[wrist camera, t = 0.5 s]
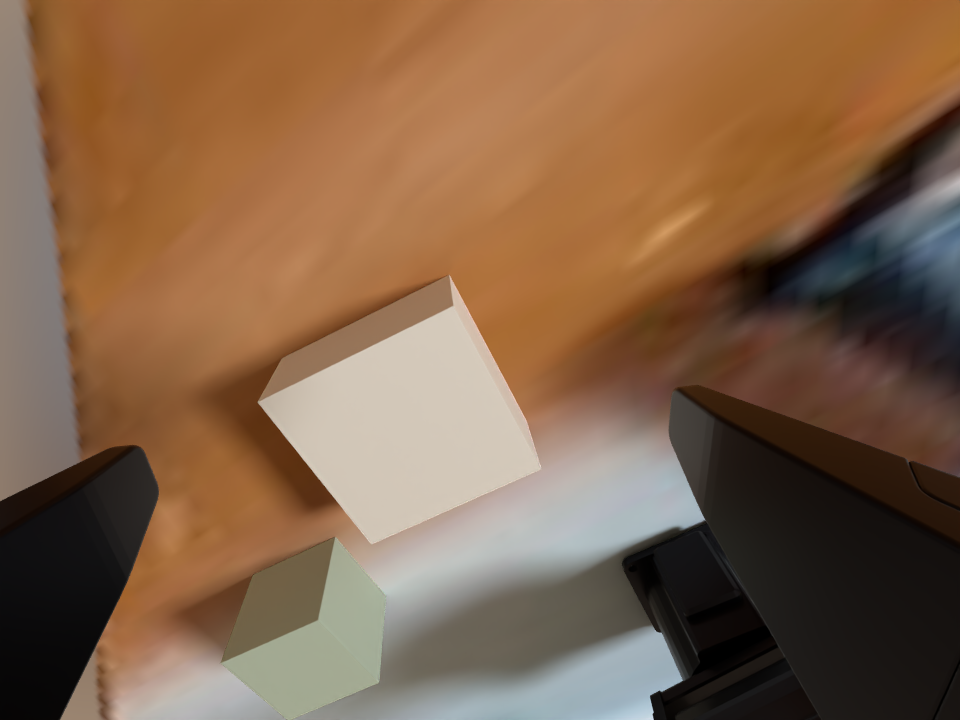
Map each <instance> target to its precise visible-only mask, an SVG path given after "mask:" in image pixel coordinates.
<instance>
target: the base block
mask: <svg viewBox="0 0 960 720" xmlns="http://www.w3.org/2000/svg"><path fill="white" fill-rule="evenodd" d="M258 403H259V405H260V406H261V407H262V408H263V410H264V411H265V412H266V413H267V415H268V416H269V417H270V418H271V420H272V421H273V422H274V423H275V425H276V426H277V427H278V428H279V430H280V431H281V432H282V433H283V435H284V436H285V437H286V438H287V440H288V441H289V442H290V443H291V445H292V446H293V447H294V448H295V450H296V451H297V452H298V453H299V455H300V456H301V457H302V458H303V460H304V461H305V462H306V463H307V465H308V466H309V467H310V468H311V470H312V471H313V472H314V473H315V475H316V476H317V477H318V478H319V480H320V481H321V482H322V483H323V485H324V486H325V487H326V488H327V490H328V491H329V492H330V493H331V495H332V496H333V497H334V498H335V500H336V501H337V502H338V503H339V505H340V506H341V507H342V508H343V510H344V511H345V512H346V513H347V515H348V516H349V517H350V518H351V520H352V521H353V522H354V523H355V525H356V526H357V527H358V528H359V530H360V531H361V532H362V533H363V535H364V536H365V537H366V538H367V540H368V541H369V542H370V543H371V544H374V543H376V542H378V541H380V540H383V539H385V538H387V537H390V536H392V535H394V534H396V533H399V532H401V531H403V530H405V529H408V528H410V527H412V526H414V525H417V524H419V523H421V522H423V521H426V520H428V519H430V518H432V517H435V516H437V515H439V514H441V513H444V512H446V511H448V510H450V509H453V508H455V507H457V506H460V505H462V504H464V503H466V502H469V501H471V500H473V499H475V498H478V497H480V496H482V495H484V494H487V493H489V492H491V491H493V490H496V489H498V488H500V487H502V486H505V485H507V484H509V483H511V482H514V481H516V480H518V479H520V478H523V477H525V476H527V475H529V474H532V473H534V472H536V471H539V470H541V469H542V468H541V465H540V462H539V459H538V456H537V452H536V449H535V446H534V443H533V440H532V437H531V433H530V430H529V427H528V424H527V421H526V419H525V417H524V415H523V413H522V411H521V409H520V408H519V406H518V404H517V402H516V400H515V398H514V396H513V394H512V392H511V391H510V389H509V387H508V385H507V383H506V381H505V379H504V377H503V375H502V374H501V372H500V370H499V368H498V366H497V364H496V362H495V360H494V358H493V357H492V355H491V353H490V351H489V349H488V347H487V345H486V343H485V341H484V340H483V338H482V336H481V334H480V332H479V330H478V328H477V326H476V324H475V323H474V321H473V319H472V317H471V315H470V313H469V311H468V309H467V307H466V306H465V304H464V302H463V300H462V298H461V296H460V294H459V292H458V290H457V289H456V287H455V285H454V283H453V281H452V279H451V277H450V275H448V276H446V277H444V278H442V279H440V280H438V281H436V282H434V283H432V284H430V285H428V286H426V287H424V288H422V289H420V290H418V291H416V292H414V293H412V294H410V295H408V296H406V297H404V298H402V299H400V300H398V301H396V302H394V303H392V304H390V305H388V306H386V307H384V308H382V309H380V310H378V311H376V312H374V313H372V314H370V315H368V316H366V317H364V318H362V319H360V320H357V321H355V322H353V323H351V324H349V325H347V326H345V327H343V328H341V329H339V330H337V331H335V332H333V333H331V334H329V335H327V336H325V337H323V338H321V339H319V340H317V341H315V342H313V343H311V344H309V345H307V346H305V347H303V348H301V349H299V350H297V351H295V352H293V353H291V354H289V355H287V356H285V357H283V358H282V359H281V361H280V363H279V364H278V366H277V368H276V370H275V372H274V373H273V375H272V377H271V379H270V381H269V382H268V384H267V386H266V388H265V390H264V391H263V393H262V395H261V397H260V399H259V400H258Z"/></svg>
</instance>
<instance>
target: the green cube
mask: <svg viewBox="0 0 960 720" xmlns="http://www.w3.org/2000/svg"><path fill="white" fill-rule="evenodd" d="M385 604H386V595H385V594H384V593H383V592H382V590H381V589H380V588H379V587H378V586H377V585H376V583H375V582H374V581H373V580H372V579H371V578H370V576H369V575H368V574H367V573H366V572H365V571H364V569H363V568H362V567H361V566H360V565H359V564H358V562H357V561H356V560H355V559H354V558H353V557H352V555H351V554H350V553H349V552H348V551H347V550H346V548H345V547H344V546H343V545H342V544H341V543H340V542H339V540H338V539H337V538H336V537H334V538H332V539H329V540H327V541H325V542H323V543H321V544H319V545H316V546H314V547H312V548H310V549H308V550H306V551H303V552H301V553H299V554H297V555H295V556H293V557H290V558H288V559H286V560H284V561H282V562H280V563H277V564H275V565H273V566H271V567H269V568H267V569H264V570H262V571H260V572H258V573H256V574H254V575H253V576H252V579H251V581H250V584H249V587H248V590H247V592H246V595H245V598H244V600H243V603H242V606H241V609H240V611H239V614H238V617H237V620H236V622H235V625H234V628H233V631H232V633H231V636H230V639H229V641H228V644H227V647H226V650H225V652H224V655H223V658H222V661H221V664H222V665H223V666H224V667H225V668H227V669H228V670H229V671H230V672H231V673H232V674H234V675H235V676H236V677H237V678H238V679H239V680H241V681H242V682H243V683H244V684H245V685H247V686H248V687H249V688H250V689H251V690H252V691H254V692H255V693H256V694H257V695H258V696H260V697H261V698H262V699H263V700H264V701H265V702H267V703H268V704H269V705H270V706H271V707H272V708H274V709H275V710H276V711H277V712H278V713H280V714H281V715H282V716H283V717H284V718H285V719H287V720H292V719H294V718H296V717H299V716H301V715H304V714H306V713H308V712H311V711H313V710H316V709H318V708H320V707H323V706H325V705H327V704H330V703H332V702H335V701H337V700H339V699H342V698H344V697H347V696H349V695H351V694H354V693H356V692H358V691H361V690H363V689H366V688H368V687H370V686H373V685H375V684H378V683H379V678H380V666H381V654H382V641H383V629H384V617H385Z"/></svg>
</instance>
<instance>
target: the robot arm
mask: <svg viewBox="0 0 960 720" xmlns="http://www.w3.org/2000/svg"><path fill="white" fill-rule="evenodd" d="M669 437H670V441H671V444H672V446H673V448H674V451H675V453H676V455H677V458H678V460H679V462H680V465H681V467H682V469H683V471H684V474H685V476H686V478H687V481H688V483H689V485H690V488H691V490H692V492H693V495H694V497H695V499H696V502H697V504H698V506H699V508H700V510H701V512H702V514H703V516H704V518H705V520H706V522H707V523H708V524H705V525H703V526H701V527H698V528H696V529H694V530H691V531H689V532H686V533H684V534H682V535H679V536H677V537H675V538H672V539H670V540H668V541H665V542H663V543H660V544H658V545H656V546H653V547H651V548H649V549H646V550H644V551H642V552H639V553H637V554H635V555H632V556H630V557H628V558H626V559H624V561H623V562H622V567H623V569H624V572H625V574H626V576H627V577H628V579H629V581H630V583H631V585H632V587H633V589H634V591H635V593H636V594H637V596H638V598H639V600H640V602H641V604H642V606H643V608H644V610H645V611H646V613H647V615H648V617H649V619H650V621H651V623H652V625H653V627H654V628H655V630H656V631H657V632H659V633H662V634H663V636H664V639H665V641H666V643H667V645H668V648H669V650H670V652H671V654H672V657H673V659H674V661H675V664H676V666H677V668H678V670H679V673H680V675H681V677H682V679H683V681H682V682H680V683H678V684H676V685H674V686H672V687H670V688H668V689H666V690H665V691H663V692H661V691H658V692H656V693H654V694H652V695H650V699H651V703H652V707H653V711H654V713H653V718H654V720H960V477H957V476H954V475H951V474H948V473H946V472H943V471H940V470H937V469H934V468H931V467H928V466H926V465H923V464H920V463H917V462H914V461H910V462H908V460H907V459H905V458H903V457H900V456H897V455H894V454H891V453H889V452H886V451H883V450H880V449H877V448H875V447H872V446H869V445H866V444H863V443H860V442H858V441H855V440H852V439H849V438H846V437H844V436H841V435H838V434H835V433H832V432H829V431H827V430H824V429H821V428H818V427H815V426H813V425H810V424H807V423H804V422H801V421H798V420H796V419H793V418H790V417H787V416H784V415H782V414H779V413H776V412H773V411H770V410H767V409H765V408H762V407H759V406H756V405H753V404H750V403H748V402H745V401H742V400H739V399H736V398H734V397H731V396H728V395H725V394H722V393H719V392H717V391H714V390H711V389H708V388H705V387H703V386H699V385H692V386H683V387H677V388H675V389H674V391H673V393H672V397H671V408H670V419H669ZM158 495H159V488H158V484H157V481H156V479H155V476H154V474H153V471H152V469H151V466H150V464H149V462H148V459H147V457H146V454H145V452H144V450H143V449H142V448H141V447H139V446H137V445H127V446H117V447H111V448H109V449H106V450H104V451H102V452H100V453H98V454H96V455H94V456H92V457H90V458H88V459H86V460H84V461H82V462H80V463H78V464H76V465H74V466H72V467H69V468H67V469H65V470H63V471H61V472H59V473H57V474H55V475H53V476H51V477H49V478H47V479H45V480H43V481H41V482H39V483H37V484H35V485H32V486H30V487H28V488H26V489H24V490H22V491H20V492H18V493H16V494H14V495H12V496H10V497H8V498H6V499H4V500H2V501H0V720H60V719H61V717H62V715H63V713H64V711H65V709H66V707H67V705H68V703H69V701H70V699H71V697H72V694H73V692H74V690H75V688H76V686H77V684H78V682H79V680H80V678H81V676H82V674H83V672H84V670H85V668H86V666H87V664H88V662H89V660H90V658H91V656H92V654H93V652H94V650H95V648H96V645H97V643H98V641H99V639H100V637H101V635H102V633H103V631H104V629H105V627H106V625H107V623H108V621H109V619H110V617H111V615H112V613H113V611H114V609H115V607H116V605H117V603H118V601H119V599H120V596H121V594H122V592H123V590H124V588H125V586H126V583H127V581H128V579H129V576H130V574H131V571H132V569H133V566H134V563H135V561H136V558H137V555H138V552H139V550H140V547H141V544H142V542H143V539H144V536H145V533H146V531H147V528H148V525H149V522H150V520H151V517H152V514H153V511H154V509H155V506H156V503H157V500H158Z"/></svg>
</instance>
